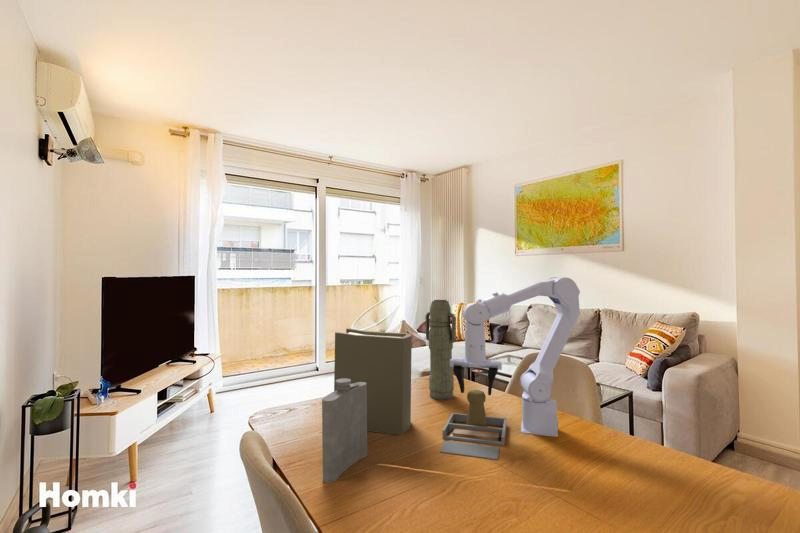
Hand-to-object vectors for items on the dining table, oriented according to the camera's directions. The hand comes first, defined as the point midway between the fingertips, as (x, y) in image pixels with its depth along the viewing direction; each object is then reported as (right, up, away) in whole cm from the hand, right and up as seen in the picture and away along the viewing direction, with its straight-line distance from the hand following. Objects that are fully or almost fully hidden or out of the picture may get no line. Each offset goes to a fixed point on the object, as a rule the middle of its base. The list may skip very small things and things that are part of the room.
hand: (476, 393), depth 111 cm
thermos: (-6, -11, +31) cm, 33 cm away
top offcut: (-1, -10, -6) cm, 12 cm away
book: (-29, -11, +3) cm, 31 cm away
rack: (-1, -10, -3) cm, 11 cm away
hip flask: (-35, -11, -20) cm, 41 cm away
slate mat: (-4, -10, -14) cm, 18 cm away
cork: (0, -11, 0) cm, 11 cm away
